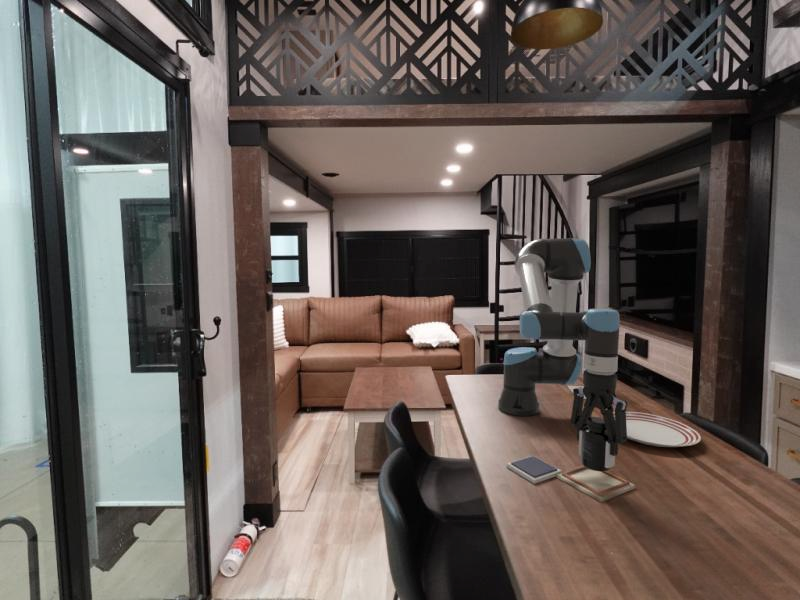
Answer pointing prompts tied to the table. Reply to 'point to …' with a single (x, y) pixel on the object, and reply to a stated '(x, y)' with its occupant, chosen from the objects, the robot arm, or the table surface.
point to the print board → (596, 483)
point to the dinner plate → (659, 431)
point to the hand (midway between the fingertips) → (596, 460)
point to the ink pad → (533, 469)
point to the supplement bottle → (594, 444)
